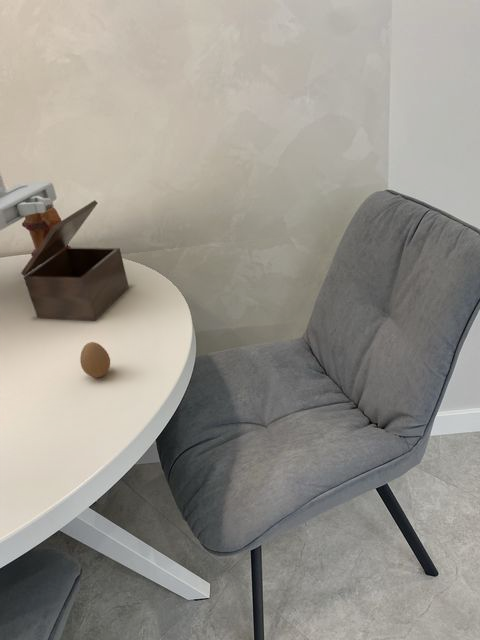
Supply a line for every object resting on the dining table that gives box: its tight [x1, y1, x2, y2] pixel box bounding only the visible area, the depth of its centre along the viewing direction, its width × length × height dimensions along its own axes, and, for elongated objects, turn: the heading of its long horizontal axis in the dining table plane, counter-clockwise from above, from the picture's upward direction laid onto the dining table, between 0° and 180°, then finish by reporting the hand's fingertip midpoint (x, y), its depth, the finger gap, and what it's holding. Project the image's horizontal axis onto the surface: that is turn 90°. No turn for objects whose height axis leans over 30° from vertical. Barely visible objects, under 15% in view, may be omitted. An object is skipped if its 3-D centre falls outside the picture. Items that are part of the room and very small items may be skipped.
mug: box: [21, 206, 71, 264], centre depth 124 cm, size 15×8×15 cm, turn 42°
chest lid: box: [20, 199, 99, 277], centre depth 104 cm, size 14×15×1 cm
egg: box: [79, 341, 111, 378], centre depth 86 cm, size 4×4×6 cm
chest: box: [23, 246, 130, 322], centre depth 109 cm, size 13×15×9 cm
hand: (48, 205), depth 101 cm, fingers closed
